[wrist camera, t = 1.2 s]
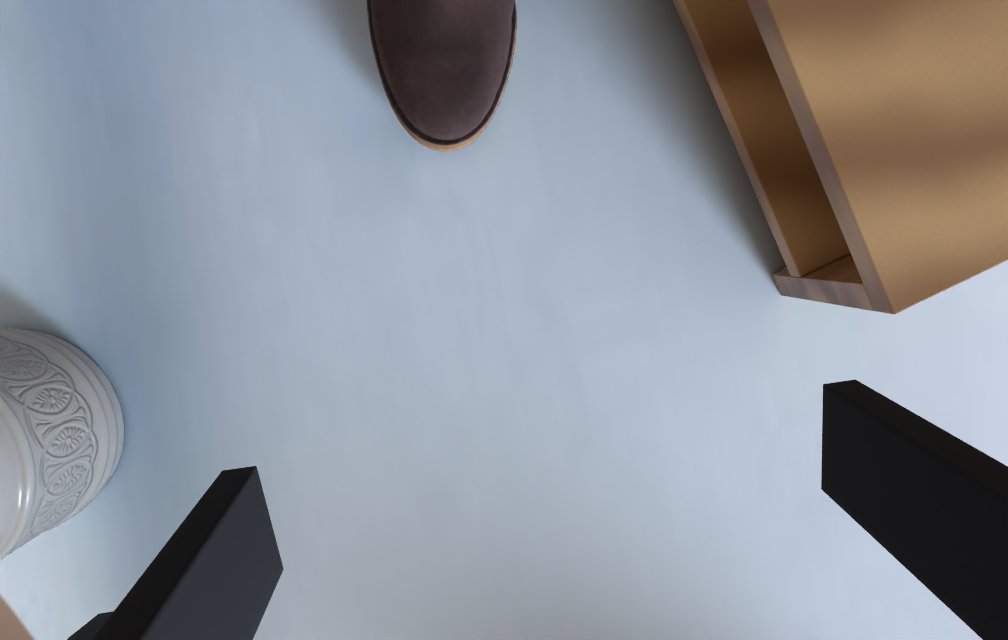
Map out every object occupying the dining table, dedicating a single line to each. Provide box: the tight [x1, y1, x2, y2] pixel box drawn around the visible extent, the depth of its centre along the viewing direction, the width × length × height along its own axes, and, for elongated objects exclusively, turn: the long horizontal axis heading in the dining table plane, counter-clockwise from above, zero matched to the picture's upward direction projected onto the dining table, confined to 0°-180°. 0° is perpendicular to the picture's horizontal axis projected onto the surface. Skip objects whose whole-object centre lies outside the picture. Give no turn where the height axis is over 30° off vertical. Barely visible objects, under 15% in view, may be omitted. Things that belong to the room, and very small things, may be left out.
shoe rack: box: [673, 0, 1008, 314], centre depth 32 cm, size 28×12×11 cm, turn 26°
